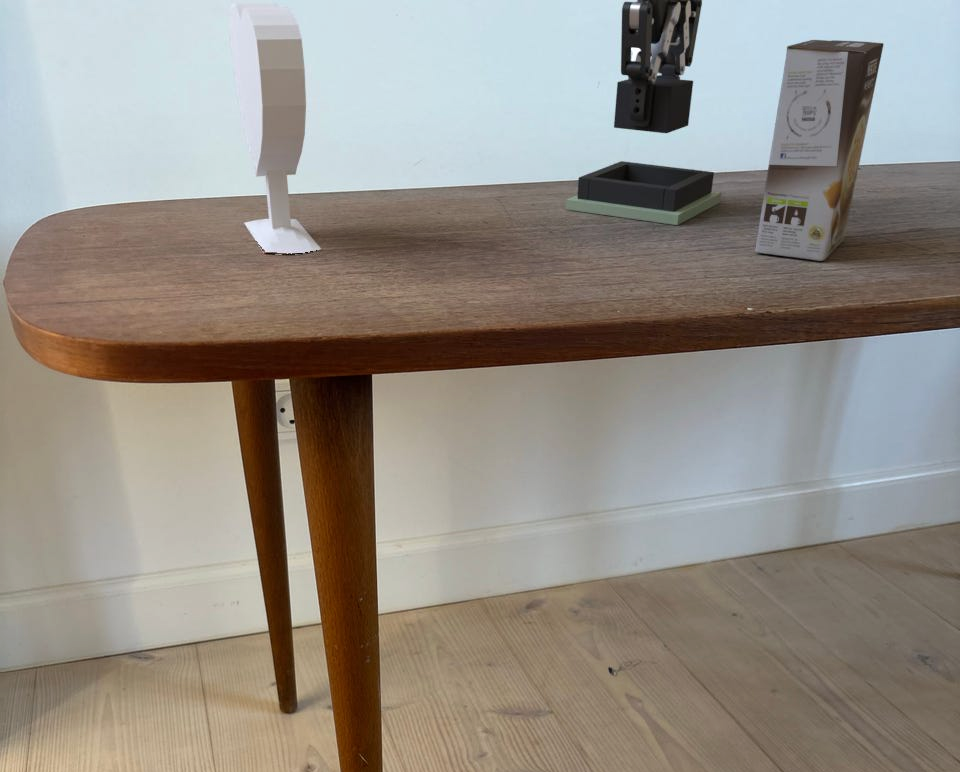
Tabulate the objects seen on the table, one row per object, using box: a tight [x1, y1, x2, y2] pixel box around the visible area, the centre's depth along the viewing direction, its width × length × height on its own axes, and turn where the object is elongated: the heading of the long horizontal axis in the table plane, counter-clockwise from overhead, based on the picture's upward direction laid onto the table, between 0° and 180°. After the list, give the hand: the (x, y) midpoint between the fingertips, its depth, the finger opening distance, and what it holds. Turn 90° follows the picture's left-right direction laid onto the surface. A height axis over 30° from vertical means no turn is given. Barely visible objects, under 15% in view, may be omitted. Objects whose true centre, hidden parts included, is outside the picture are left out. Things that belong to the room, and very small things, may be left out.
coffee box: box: [754, 39, 885, 262], centre depth 91 cm, size 9×6×16 cm
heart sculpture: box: [228, 2, 322, 254], centre depth 91 cm, size 16×5×18 cm, turn 19°
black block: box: [613, 78, 694, 134], centre depth 103 cm, size 6×6×4 cm
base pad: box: [565, 160, 722, 226], centre depth 107 cm, size 12×12×3 cm
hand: (652, 120), depth 104 cm, fingers closed on black block, 5 cm apart
